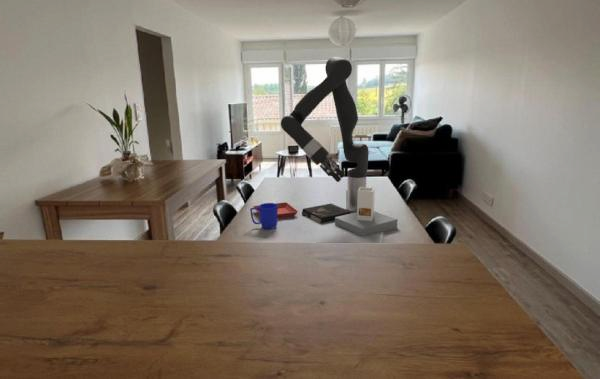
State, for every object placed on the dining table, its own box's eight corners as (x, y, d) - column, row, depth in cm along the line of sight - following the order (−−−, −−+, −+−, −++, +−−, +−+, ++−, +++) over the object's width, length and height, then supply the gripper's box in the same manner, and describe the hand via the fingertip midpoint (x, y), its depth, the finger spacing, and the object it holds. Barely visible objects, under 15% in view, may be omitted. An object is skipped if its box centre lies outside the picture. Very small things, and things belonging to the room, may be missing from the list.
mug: (251, 224, 170) (250, 203, 167) (278, 223, 171) (277, 202, 168) (250, 231, 162) (249, 209, 159) (278, 229, 163) (277, 207, 160)
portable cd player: (301, 216, 181) (301, 209, 180) (331, 211, 189) (331, 203, 188) (320, 226, 167) (320, 218, 166) (350, 219, 175) (350, 211, 174)
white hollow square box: (357, 219, 161) (357, 190, 158) (359, 215, 167) (359, 187, 164) (372, 221, 159) (372, 191, 156) (373, 216, 165) (374, 187, 162)
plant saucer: (286, 207, 196) (286, 201, 195) (298, 217, 179) (298, 211, 179) (252, 212, 190) (252, 205, 189) (262, 222, 173) (261, 216, 172)
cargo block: (360, 217, 161) (360, 208, 160) (361, 214, 165) (361, 205, 164) (369, 217, 160) (369, 208, 159) (370, 214, 164) (370, 206, 163)
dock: (334, 225, 166) (334, 217, 165) (368, 217, 176) (368, 209, 175) (362, 238, 151) (362, 228, 150) (397, 228, 162) (397, 219, 161)
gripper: (317, 147, 154) (344, 176, 154) (325, 143, 167) (350, 169, 167) (305, 160, 157) (332, 188, 156) (314, 155, 170) (338, 180, 170)
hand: (341, 178), depth 162 cm, fingers open, 8 cm apart
